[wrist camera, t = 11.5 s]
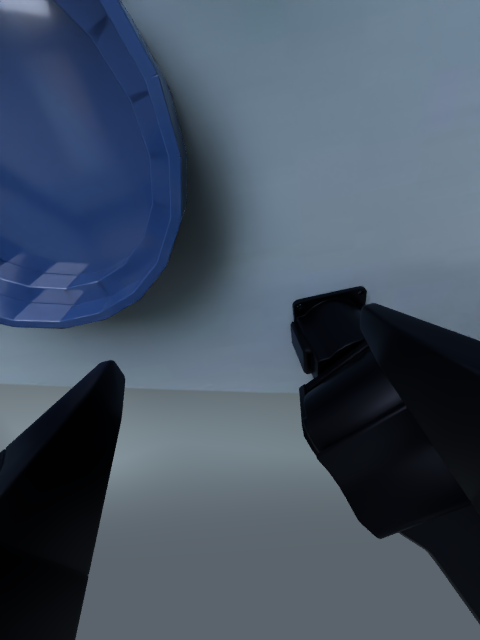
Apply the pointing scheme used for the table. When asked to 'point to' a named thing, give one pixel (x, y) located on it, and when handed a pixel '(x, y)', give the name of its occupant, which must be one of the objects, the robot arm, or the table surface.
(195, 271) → the table surface
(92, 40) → the bowl
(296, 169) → the table surface
